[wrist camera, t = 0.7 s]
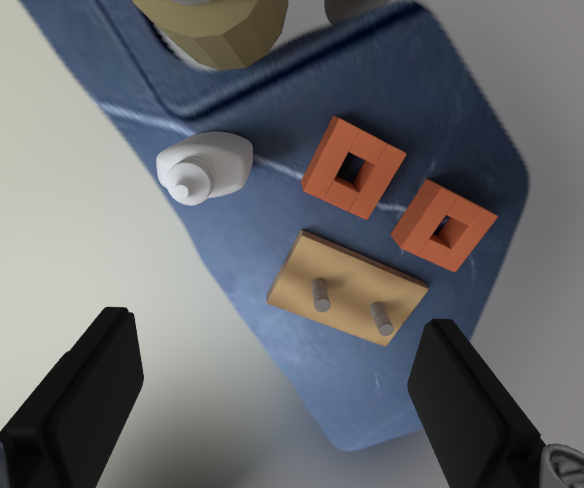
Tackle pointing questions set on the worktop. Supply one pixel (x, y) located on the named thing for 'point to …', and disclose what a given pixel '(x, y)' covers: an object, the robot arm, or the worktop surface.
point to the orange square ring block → (454, 235)
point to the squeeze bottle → (219, 28)
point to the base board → (344, 289)
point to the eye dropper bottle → (205, 166)
